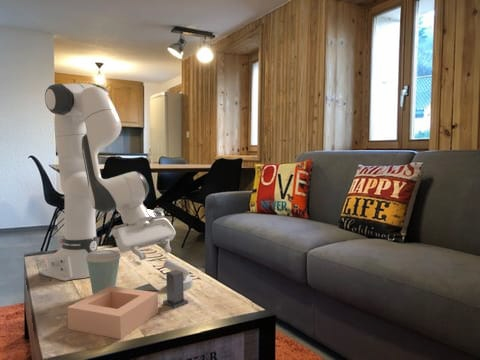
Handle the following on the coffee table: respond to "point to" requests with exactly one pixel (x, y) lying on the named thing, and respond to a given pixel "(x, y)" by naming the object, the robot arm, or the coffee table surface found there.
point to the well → (113, 311)
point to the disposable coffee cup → (103, 268)
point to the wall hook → (175, 266)
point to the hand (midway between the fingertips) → (156, 255)
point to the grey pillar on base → (175, 290)
